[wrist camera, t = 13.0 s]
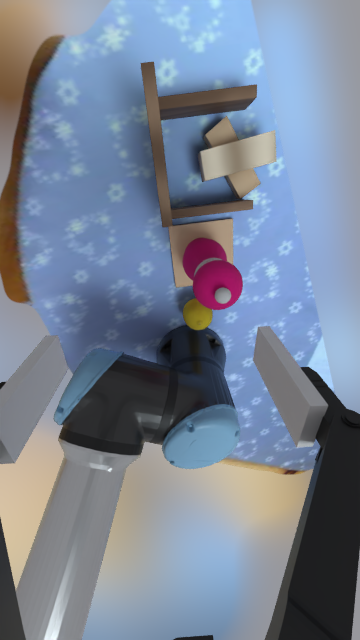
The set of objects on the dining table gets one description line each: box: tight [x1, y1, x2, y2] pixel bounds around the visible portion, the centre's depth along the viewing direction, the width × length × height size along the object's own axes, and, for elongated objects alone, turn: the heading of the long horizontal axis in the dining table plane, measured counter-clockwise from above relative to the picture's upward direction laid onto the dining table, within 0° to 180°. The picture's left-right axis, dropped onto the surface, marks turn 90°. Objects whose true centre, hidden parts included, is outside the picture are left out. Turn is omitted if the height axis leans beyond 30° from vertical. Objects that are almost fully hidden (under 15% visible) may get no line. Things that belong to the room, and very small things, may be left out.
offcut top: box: [198, 130, 276, 182], centre depth 34 cm, size 10×4×3 cm, turn 103°
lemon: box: [183, 298, 212, 330], centre depth 45 cm, size 6×6×8 cm
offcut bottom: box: [203, 116, 261, 199], centre depth 36 cm, size 10×4×3 cm, turn 37°
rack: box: [141, 62, 257, 227], centre depth 31 cm, size 14×14×14 cm
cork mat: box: [168, 218, 233, 288], centre depth 43 cm, size 11×11×1 cm
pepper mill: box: [182, 238, 243, 310], centre depth 34 cm, size 7×7×20 cm
